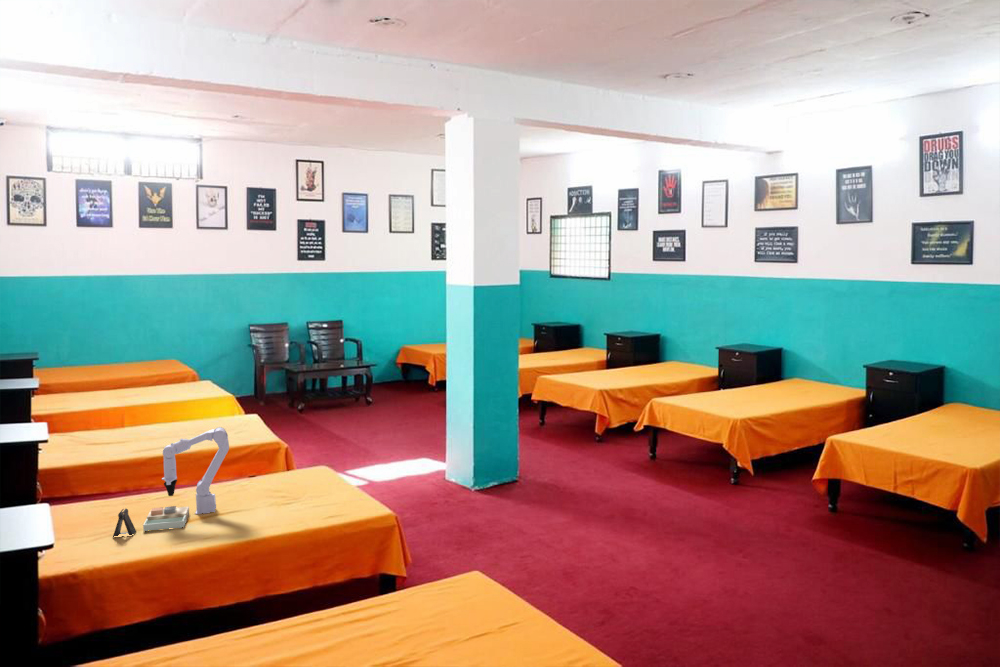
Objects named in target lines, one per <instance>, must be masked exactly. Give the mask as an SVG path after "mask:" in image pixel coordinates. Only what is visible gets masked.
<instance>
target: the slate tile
mask: <svg viewBox="0 0 1000 667" xmlns="http://www.w3.org/2000/svg"><path fill="white" fill-rule="evenodd" d="M176 508H177V506H176V505H174V506H172V505H171V506H165V507H164V508H163V509H164V514H168V513H175V512H176Z"/></svg>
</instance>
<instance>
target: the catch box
mask: <svg viewBox="0 0 1000 667" xmlns="http://www.w3.org/2000/svg"><path fill="white" fill-rule="evenodd" d="M185 523H187V521H186V515H184V517H178V518H167V519H157V520H148V519H147V518H146V519H145V521H144V523H143V524H142V526H143V527H142V528H143V530H142V531H143V532H144V531H148V530H159V529H169V528H179V529H183V528H182V527H184V528H185V526H186V524H185ZM169 530H170V529H169ZM159 531H160V530H159Z"/></svg>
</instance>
